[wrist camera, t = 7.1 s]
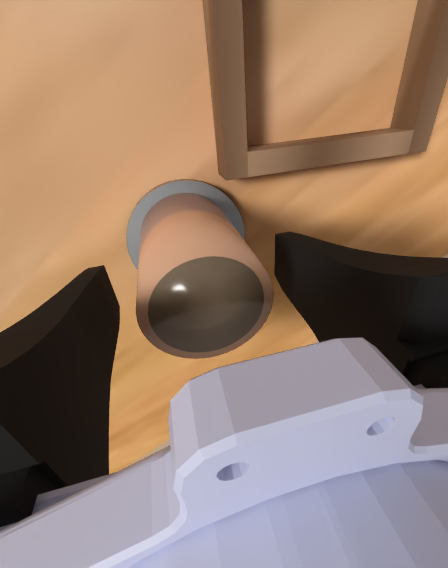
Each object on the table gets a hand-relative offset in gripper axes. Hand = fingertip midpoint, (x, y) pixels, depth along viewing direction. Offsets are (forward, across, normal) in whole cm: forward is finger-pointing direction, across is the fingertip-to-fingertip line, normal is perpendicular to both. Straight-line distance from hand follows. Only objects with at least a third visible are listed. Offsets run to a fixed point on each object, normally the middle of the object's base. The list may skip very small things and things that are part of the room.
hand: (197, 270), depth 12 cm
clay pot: (+3, 0, 0) cm, 3 cm away
